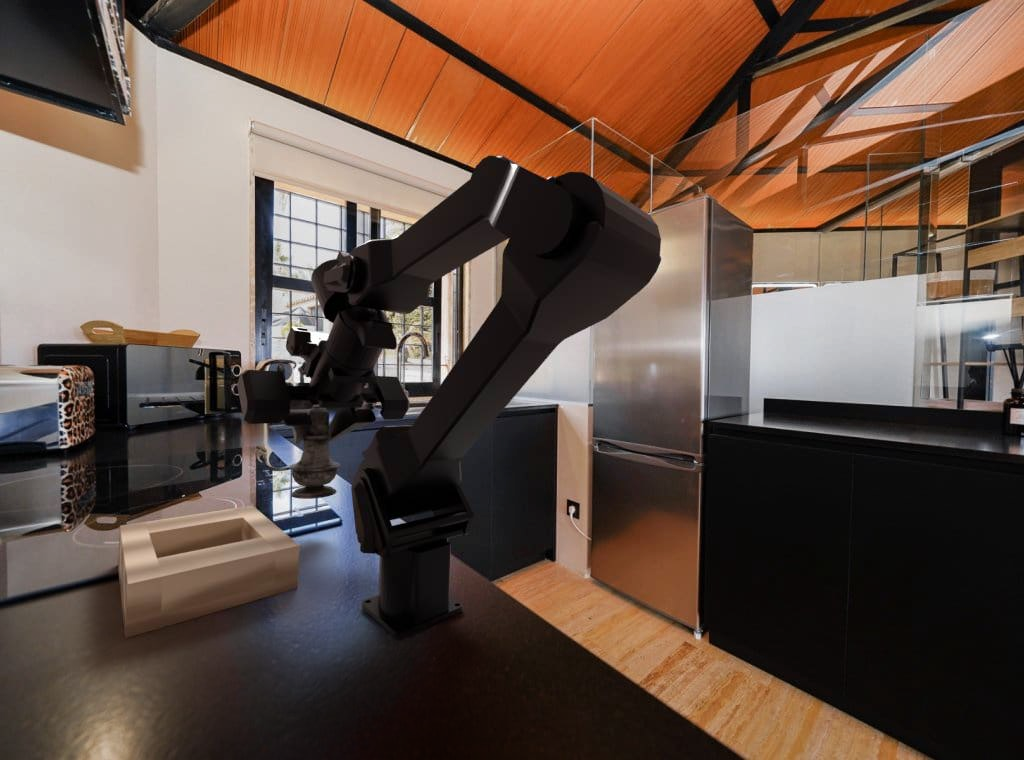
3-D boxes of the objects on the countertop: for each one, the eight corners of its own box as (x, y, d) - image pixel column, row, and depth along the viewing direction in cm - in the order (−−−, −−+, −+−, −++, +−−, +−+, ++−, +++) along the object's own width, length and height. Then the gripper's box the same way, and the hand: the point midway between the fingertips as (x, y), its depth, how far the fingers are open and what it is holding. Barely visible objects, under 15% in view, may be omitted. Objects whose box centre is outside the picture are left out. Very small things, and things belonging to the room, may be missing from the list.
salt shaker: (319, 501, 50) (323, 400, 50) (277, 497, 51) (281, 399, 51) (348, 489, 56) (351, 399, 56) (309, 486, 57) (312, 398, 57)
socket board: (297, 587, 40) (299, 545, 40) (125, 638, 31) (128, 584, 31) (251, 538, 52) (252, 505, 52) (117, 564, 43) (119, 525, 43)
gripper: (401, 318, 58) (363, 396, 65) (245, 294, 45) (219, 394, 52) (432, 375, 52) (385, 453, 60) (262, 366, 39) (230, 467, 46)
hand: (312, 440), depth 55 cm, fingers closed on salt shaker, 4 cm apart
